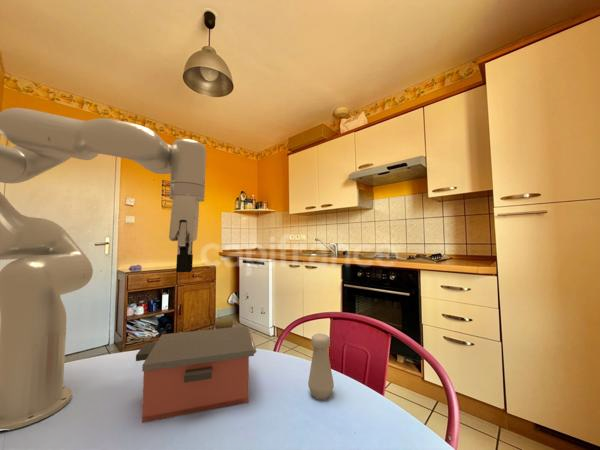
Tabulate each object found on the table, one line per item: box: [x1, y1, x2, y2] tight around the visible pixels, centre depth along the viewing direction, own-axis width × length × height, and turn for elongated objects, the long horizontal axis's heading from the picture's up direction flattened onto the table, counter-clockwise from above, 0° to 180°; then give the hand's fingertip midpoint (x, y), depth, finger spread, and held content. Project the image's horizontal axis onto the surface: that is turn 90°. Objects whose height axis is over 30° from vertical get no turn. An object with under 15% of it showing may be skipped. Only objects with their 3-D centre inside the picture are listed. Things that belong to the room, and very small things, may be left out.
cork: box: [214, 317, 234, 329], centre depth 75 cm, size 6×6×11 cm
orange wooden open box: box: [141, 357, 250, 424], centre depth 58 cm, size 20×19×10 cm
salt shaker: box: [307, 332, 335, 400], centre depth 57 cm, size 6×6×13 cm
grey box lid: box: [135, 325, 257, 372], centre depth 58 cm, size 24×16×1 cm, turn 107°
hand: (184, 271), depth 58 cm, fingers closed
